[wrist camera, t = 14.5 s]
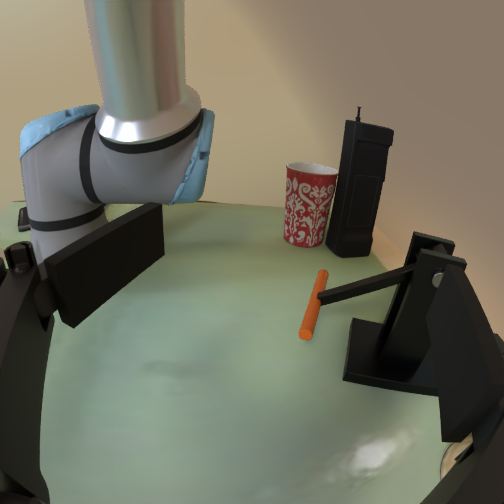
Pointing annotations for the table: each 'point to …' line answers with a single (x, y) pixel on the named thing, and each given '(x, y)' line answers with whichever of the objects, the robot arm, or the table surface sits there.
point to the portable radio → (358, 188)
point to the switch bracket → (402, 327)
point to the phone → (23, 220)
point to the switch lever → (351, 291)
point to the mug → (308, 202)
